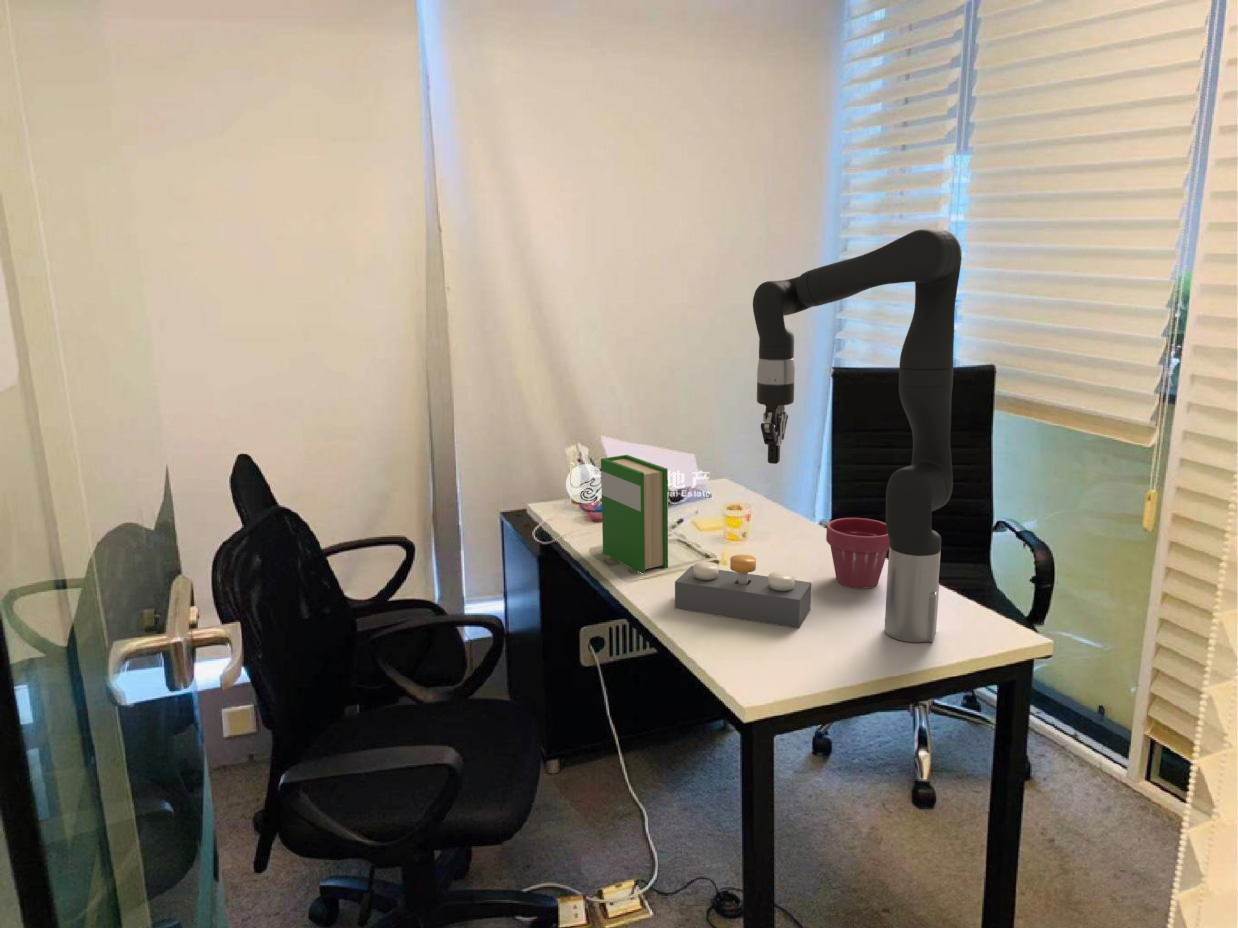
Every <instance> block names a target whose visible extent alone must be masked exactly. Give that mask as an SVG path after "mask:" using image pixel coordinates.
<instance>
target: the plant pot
mask: <svg viewBox="0 0 1238 928" xmlns="http://www.w3.org/2000/svg"><path fill="white" fill-rule="evenodd" d="M825 541H826V543H827V544H828V545H829V546H830V551H831V557H832V563H833V568H834V569H833V570H834V573H835V579H836V581H837V582H838V583H839V584H840V585H843V586H845V587H848V588H854V589H871V588H874V587H876V586H877V585H878V583H879V582H880V581H879V580H880V577H881V574H882V571H883V568H884V565H885V561H886V557H887V554H888V552H889V536H888V534H887V530H886V522H883V521H880V520H875V519H871V518H865V517H864V518H861V517H843V518H837V519H834V520H831V521H829V522H828V523H827V524H826V536H825Z"/></svg>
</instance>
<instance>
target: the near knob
mask: <svg viewBox="0 0 1238 928" xmlns="http://www.w3.org/2000/svg"><path fill="white" fill-rule="evenodd" d="M767 576H768V586H769V587H770V588H771V589H774V590H780V591H786V590H791V589H793V588H794V580H796V577H795V575H794V574H792V573H790V572H785V571H775V572H771V573H769V574H768V575H767Z"/></svg>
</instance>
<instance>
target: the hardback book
mask: <svg viewBox="0 0 1238 928" xmlns="http://www.w3.org/2000/svg"><path fill="white" fill-rule="evenodd" d="M668 475H669V473H668V468H667V467H664V466H662V465H661V466H660V465H657V464H655V463H652V462H650V461H647V460H643V459H640V458H637V457H635V456H632V455H629V454H624V455H623V454H622V455H617V456H611V457H604V458H600V476H601V477H600V479H601V480H600V482H601V485H600V486H601V522H602V525H601V526H602V527H601V528H602V532H601V533H602V554H604V555H605V556H608V557H609V556H610V557H609V558H611V557H612V560H613V559H614V560H615V561H616V562H619V561H620V562H622V563H623V564H622V563H621V564H622V565H624V564H625V565H624V566H626V565H627V566H626V567H628V566H629V567H628V568H630V567H631V568H632V570H633V569H634V570H633V571H635V570H636V571H635V572H637V571H639V572H641V573H644V572H645V573H646V570H647V569H651V568H655V567H661V566H662V567H661V568H662V569H668V568H669V526H668V525H669V515H668V514H669V510H668V509H669V508H668V507H669V506H668V503H669V502H668V501H669V500H668V499H669V495H668V494H669V493H668V491H669V490H668V489H669V488H668V485H669V484H668V482H669V481H668V478H669V477H668ZM620 562H619V563H620ZM631 568H630V569H631ZM639 572H638V573H639ZM641 573H640V574H641ZM645 573H644V574H645Z"/></svg>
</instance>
